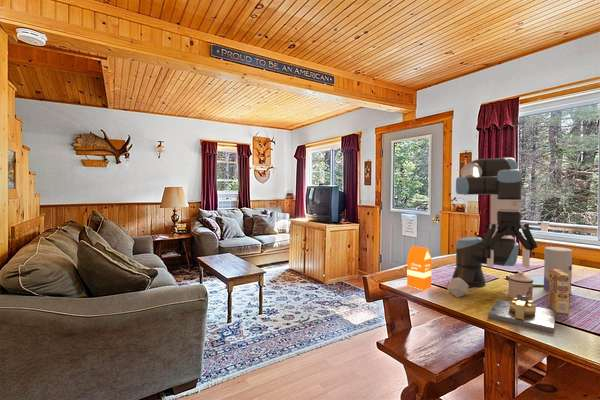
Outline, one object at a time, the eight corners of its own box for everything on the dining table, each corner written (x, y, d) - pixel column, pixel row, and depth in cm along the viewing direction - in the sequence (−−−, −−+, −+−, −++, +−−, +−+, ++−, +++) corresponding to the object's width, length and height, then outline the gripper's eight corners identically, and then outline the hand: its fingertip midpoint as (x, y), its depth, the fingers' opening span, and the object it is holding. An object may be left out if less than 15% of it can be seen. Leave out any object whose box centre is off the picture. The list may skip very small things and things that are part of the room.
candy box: (569, 314, 119) (570, 275, 119) (556, 312, 121) (556, 274, 120) (559, 306, 128) (560, 269, 127) (547, 304, 129) (548, 268, 129)
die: (456, 292, 147) (444, 276, 147) (474, 287, 142) (461, 270, 142) (454, 303, 141) (441, 287, 141) (472, 298, 135) (459, 281, 135)
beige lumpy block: (511, 305, 123) (511, 293, 123) (536, 310, 118) (536, 297, 117) (506, 315, 113) (506, 302, 113) (533, 321, 108) (533, 307, 108)
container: (576, 294, 141) (577, 250, 140) (551, 293, 143) (552, 250, 142) (562, 287, 151) (563, 246, 150) (539, 286, 153) (540, 246, 152)
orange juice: (423, 290, 148) (424, 249, 147) (406, 286, 155) (407, 246, 154) (431, 287, 153) (431, 247, 152) (414, 283, 160) (414, 244, 159)
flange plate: (488, 318, 116) (488, 297, 116) (497, 303, 131) (497, 284, 130) (553, 333, 104) (554, 310, 104) (555, 315, 118) (556, 294, 118)
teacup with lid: (531, 303, 131) (532, 276, 130) (506, 298, 137) (506, 272, 136) (534, 296, 139) (535, 270, 139) (510, 291, 146) (511, 267, 145)
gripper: (481, 211, 113) (481, 269, 113) (549, 211, 113) (548, 268, 113) (470, 210, 120) (469, 264, 121) (534, 209, 120) (533, 264, 121)
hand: (507, 266), depth 117 cm, fingers open, 13 cm apart
